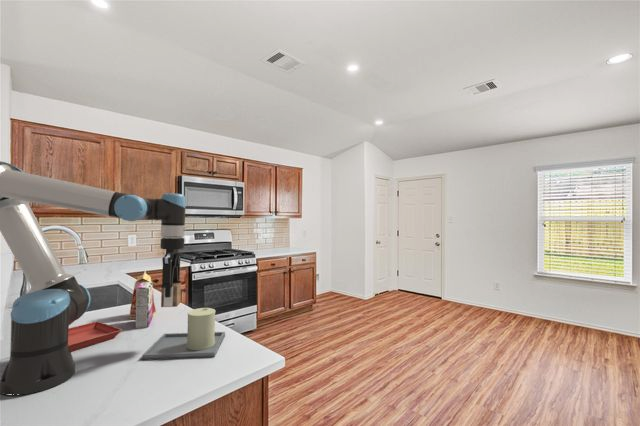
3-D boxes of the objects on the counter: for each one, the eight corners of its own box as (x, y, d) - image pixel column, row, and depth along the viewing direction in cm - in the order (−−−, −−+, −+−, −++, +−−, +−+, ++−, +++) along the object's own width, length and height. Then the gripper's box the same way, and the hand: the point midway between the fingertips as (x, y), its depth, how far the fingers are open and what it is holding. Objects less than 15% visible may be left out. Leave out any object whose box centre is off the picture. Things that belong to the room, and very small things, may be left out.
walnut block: (161, 307, 104) (161, 286, 104) (165, 303, 109) (166, 283, 109) (176, 306, 105) (177, 286, 105) (180, 302, 109) (181, 283, 110)
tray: (214, 357, 98) (214, 352, 98) (142, 359, 95) (142, 355, 95) (225, 335, 116) (225, 331, 116) (164, 337, 113) (164, 333, 113)
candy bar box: (139, 320, 132) (140, 282, 132) (152, 319, 134) (153, 281, 134) (134, 329, 121) (135, 288, 122) (148, 327, 123) (149, 287, 123)
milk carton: (134, 313, 141) (135, 270, 141) (156, 312, 143) (157, 269, 144) (128, 320, 132) (129, 273, 132) (151, 318, 135) (153, 273, 135)
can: (219, 340, 110) (220, 307, 111) (207, 351, 101) (208, 314, 101) (195, 338, 111) (195, 305, 112) (181, 349, 102) (182, 313, 102)
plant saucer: (96, 328, 122) (97, 320, 122) (122, 337, 114) (123, 328, 114) (38, 345, 106) (39, 335, 106) (64, 356, 98) (64, 346, 98)
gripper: (177, 239, 99) (174, 311, 98) (190, 236, 117) (188, 297, 116) (152, 239, 97) (149, 312, 97) (169, 235, 115) (167, 297, 115)
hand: (170, 303), depth 106 cm, fingers closed on walnut block, 5 cm apart
